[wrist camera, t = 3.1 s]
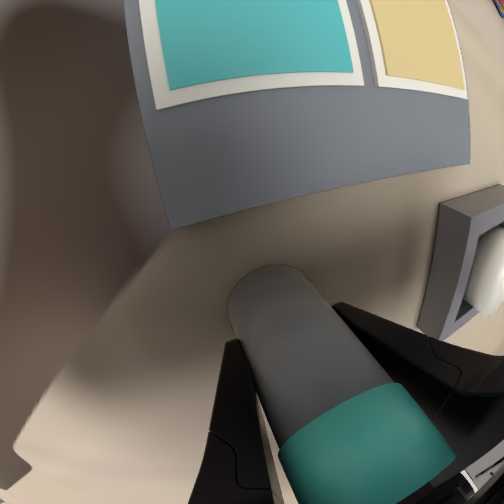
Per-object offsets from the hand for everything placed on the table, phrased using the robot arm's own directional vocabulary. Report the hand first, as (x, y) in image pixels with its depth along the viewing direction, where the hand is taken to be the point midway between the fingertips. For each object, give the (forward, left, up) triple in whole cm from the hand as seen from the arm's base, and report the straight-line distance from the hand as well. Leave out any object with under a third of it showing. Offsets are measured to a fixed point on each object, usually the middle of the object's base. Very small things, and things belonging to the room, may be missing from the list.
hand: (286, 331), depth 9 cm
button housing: (-2, -13, -2) cm, 13 cm away
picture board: (+10, -4, -2) cm, 11 cm away
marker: (0, 0, -2) cm, 2 cm away
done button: (-2, -13, 0) cm, 13 cm away
